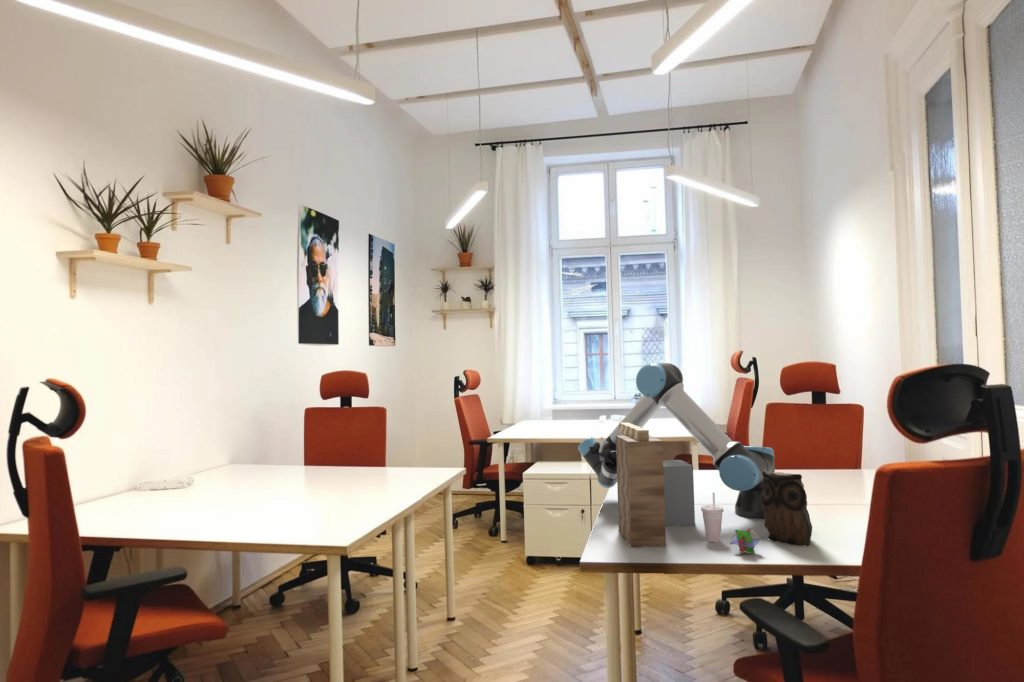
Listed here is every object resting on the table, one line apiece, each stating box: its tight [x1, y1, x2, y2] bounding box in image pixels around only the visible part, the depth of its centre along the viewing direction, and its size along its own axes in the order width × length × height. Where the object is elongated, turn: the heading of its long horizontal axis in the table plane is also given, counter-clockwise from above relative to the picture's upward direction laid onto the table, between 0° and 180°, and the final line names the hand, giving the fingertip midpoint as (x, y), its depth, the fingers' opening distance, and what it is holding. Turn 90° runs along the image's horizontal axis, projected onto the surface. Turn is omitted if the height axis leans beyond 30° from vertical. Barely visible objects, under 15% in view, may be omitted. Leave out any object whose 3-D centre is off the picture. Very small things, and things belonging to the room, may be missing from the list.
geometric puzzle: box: [729, 527, 761, 556], centre depth 180 cm, size 7×7×8 cm
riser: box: [663, 459, 696, 526], centre depth 220 cm, size 14×10×19 cm
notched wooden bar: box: [618, 422, 650, 441], centre depth 206 cm, size 28×3×3 cm, turn 2°
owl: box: [762, 470, 813, 547], centre depth 193 cm, size 13×13×20 cm
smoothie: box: [700, 492, 724, 543], centre depth 194 cm, size 6×6×14 cm
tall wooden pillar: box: [616, 435, 667, 548], centre depth 199 cm, size 18×10×30 cm, turn 2°
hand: (622, 440), depth 222 cm, fingers open, 13 cm apart
